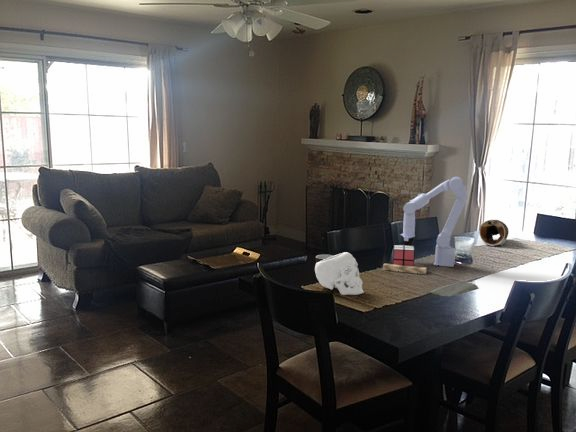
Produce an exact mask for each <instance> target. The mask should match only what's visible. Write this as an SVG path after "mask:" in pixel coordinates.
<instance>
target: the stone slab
mask: <svg viewBox="0 0 576 432" xmlns="http://www.w3.org/2000/svg"><path fill="white" fill-rule="evenodd" d="M478 288H479V286H478V285H477V284H476V283H472V282H468V281H464V280H463V281H459V282H455V283H451V284H445V285H442V286H440V287H437V288H434V289H432V290H431V291H429V294H433V295H436V296H441V297H450V296H451V297H452V296H456V295H460V294H465V293H468V292H470V291H474V290H476V289H478Z"/></svg>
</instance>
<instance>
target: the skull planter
mask: <svg viewBox="0 0 576 432" xmlns="http://www.w3.org/2000/svg"><path fill="white" fill-rule="evenodd" d="M358 265H359V264H358V262H357V260H356V258H355V257H354V256H353V254H351V253H350V252H347V251H346V252H345V251H344V252H342V253H341V252H340V253H338V254H335V255H333V256H331V257H329V258H326V259H324V260H322V261H320V262H318V263H315V266H314V272H315V276H316V277H315V278H316V279H317V281H318V282H319V283H320V285H321V286H322V287H324V288H326V289H328V290H329V289H330V290H331V291H332V290H333V289H334V288H335V289H337V290H338V291H339V293H340V295H342V296H347V295H350V296H358V295H361V294H364V290H363V284H364V283H363V280H362V279H361V277H360V271H359V267H358ZM345 284H346V285H347V286H345Z"/></svg>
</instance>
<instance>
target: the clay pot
mask: <svg viewBox="0 0 576 432" xmlns="http://www.w3.org/2000/svg"><path fill="white" fill-rule="evenodd" d="M478 230H479V232H478V233H479V237H480V239H481V240H482V242H483V243H484V244H485V245H488V246H493V247H494V246H495V247H497V246H498V247H500V246H503V245H504V244H505V243H506V242H507V240H508V239H507V238H508V236H509V233H510V232H509V228H508V225H506V223H504V222H503V221H500V220H499V219H489V220H486V221H483V223H481V225H480V226H479V229H478ZM497 235H499V237H498V239H497V240H494V237H493V236H497Z"/></svg>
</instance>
